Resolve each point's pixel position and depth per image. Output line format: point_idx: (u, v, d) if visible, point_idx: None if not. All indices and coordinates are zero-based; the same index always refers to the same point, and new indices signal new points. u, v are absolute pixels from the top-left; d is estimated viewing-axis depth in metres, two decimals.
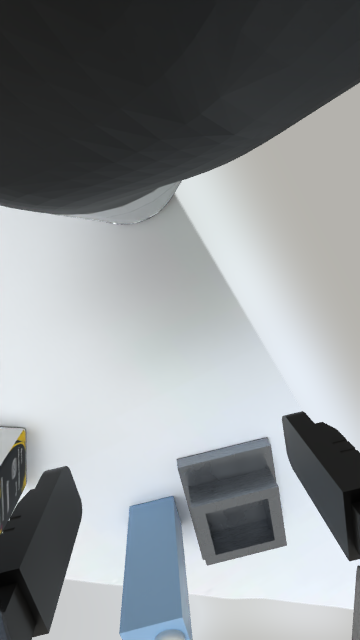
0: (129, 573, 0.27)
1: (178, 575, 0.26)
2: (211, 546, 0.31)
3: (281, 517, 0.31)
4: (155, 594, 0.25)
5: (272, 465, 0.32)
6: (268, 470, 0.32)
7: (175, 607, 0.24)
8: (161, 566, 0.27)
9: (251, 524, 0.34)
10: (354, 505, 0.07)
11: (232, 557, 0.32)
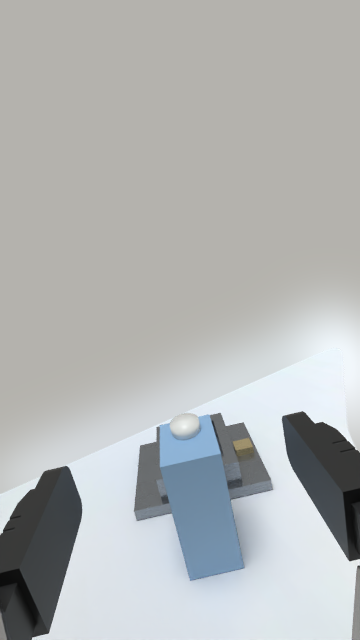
0: None
1: None
2: None
3: None
4: None
5: None
6: None
7: None
8: None
9: (219, 445, 0.36)
10: (354, 505, 0.07)
11: (229, 443, 0.32)
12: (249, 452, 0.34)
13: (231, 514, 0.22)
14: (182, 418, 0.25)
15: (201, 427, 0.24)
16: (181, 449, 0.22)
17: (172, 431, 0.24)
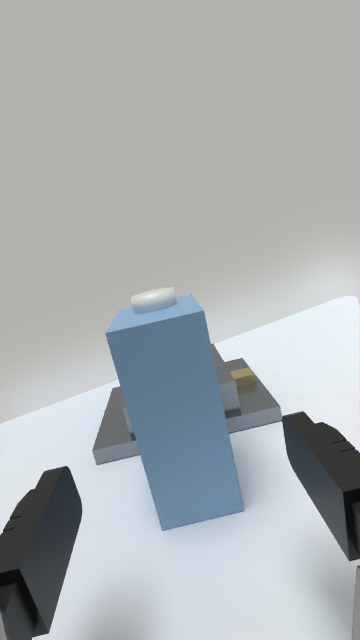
0: None
1: None
2: None
3: None
4: None
5: None
6: None
7: None
8: None
9: None
10: (354, 505, 0.07)
11: (223, 366, 0.24)
12: (250, 382, 0.26)
13: (223, 419, 0.14)
14: (150, 292, 0.17)
15: (178, 302, 0.16)
16: (144, 317, 0.14)
17: (133, 303, 0.16)
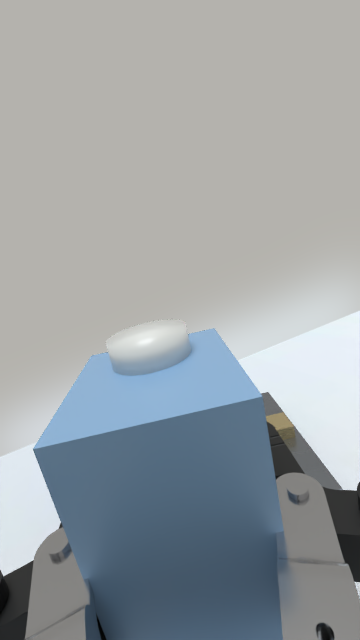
0: None
1: None
2: None
3: None
4: None
5: None
6: None
7: None
8: None
9: None
10: None
11: None
12: (287, 437, 0.18)
13: None
14: (142, 328, 0.09)
15: (193, 348, 0.09)
16: (128, 394, 0.07)
17: (110, 354, 0.08)
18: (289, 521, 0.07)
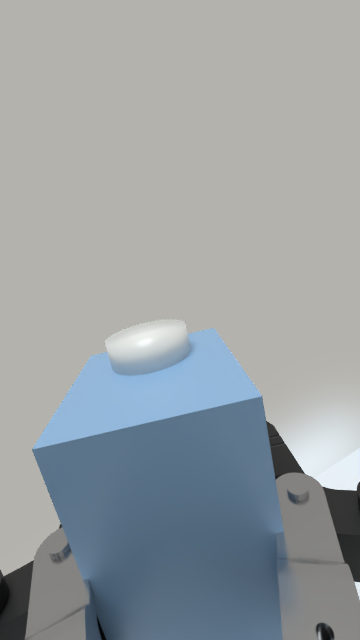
0: None
1: None
2: None
3: None
4: None
5: None
6: None
7: None
8: None
9: None
10: None
11: None
12: None
13: None
14: (142, 328, 0.09)
15: (193, 348, 0.09)
16: (127, 394, 0.07)
17: (110, 354, 0.08)
18: (289, 521, 0.07)
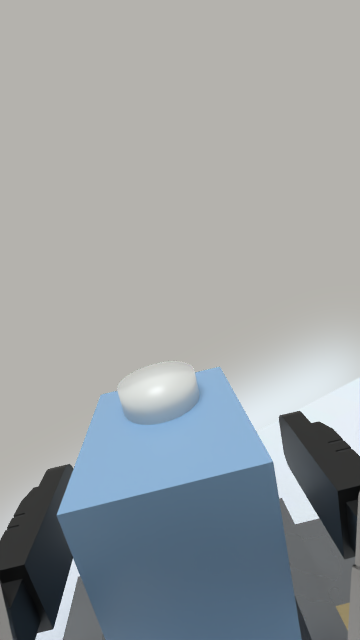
0: None
1: None
2: None
3: None
4: None
5: None
6: None
7: None
8: None
9: None
10: (349, 503, 0.07)
11: None
12: None
13: None
14: (152, 371, 0.10)
15: (202, 392, 0.09)
16: (143, 450, 0.07)
17: (122, 402, 0.09)
18: None
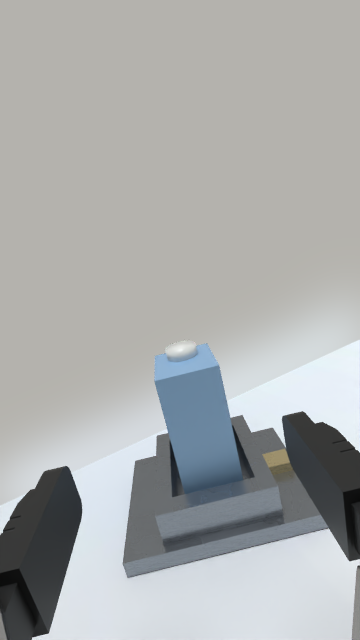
0: None
1: None
2: (236, 484, 0.21)
3: None
4: None
5: None
6: None
7: None
8: None
9: (242, 459, 0.26)
10: (354, 505, 0.07)
11: (260, 457, 0.23)
12: (287, 469, 0.24)
13: (232, 436, 0.21)
14: (178, 344, 0.23)
15: (198, 351, 0.23)
16: (177, 367, 0.21)
17: (168, 354, 0.22)
18: None
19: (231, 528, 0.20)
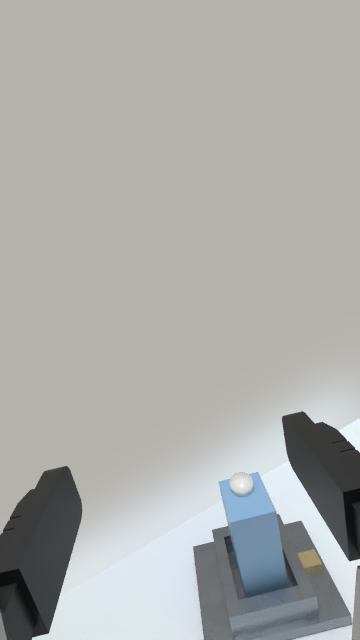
0: None
1: (224, 503, 0.33)
2: (285, 591, 0.29)
3: None
4: (226, 512, 0.31)
5: (214, 542, 0.37)
6: None
7: None
8: (228, 523, 0.32)
9: None
10: (354, 505, 0.07)
11: (299, 565, 0.31)
12: (318, 569, 0.32)
13: (282, 556, 0.29)
14: (238, 477, 0.31)
15: (254, 485, 0.31)
16: (243, 506, 0.29)
17: (233, 490, 0.30)
18: None
19: (281, 624, 0.28)
